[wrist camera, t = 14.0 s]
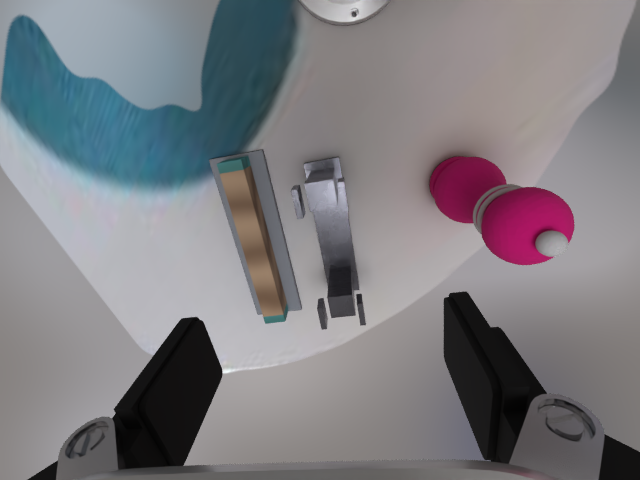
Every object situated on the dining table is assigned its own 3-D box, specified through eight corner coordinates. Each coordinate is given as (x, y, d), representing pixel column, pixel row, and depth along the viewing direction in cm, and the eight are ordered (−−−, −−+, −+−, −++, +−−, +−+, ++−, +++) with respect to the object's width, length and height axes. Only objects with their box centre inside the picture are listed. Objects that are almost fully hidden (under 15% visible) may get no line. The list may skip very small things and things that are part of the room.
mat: (210, 159, 39) (208, 160, 38) (263, 149, 38) (261, 150, 37) (258, 312, 48) (257, 314, 47) (301, 307, 47) (301, 309, 47)
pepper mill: (490, 198, 39) (624, 278, 20) (433, 217, 40) (510, 308, 22) (478, 142, 36) (620, 177, 18) (418, 165, 38) (492, 218, 19)
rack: (301, 163, 38) (288, 180, 29) (342, 156, 38) (342, 171, 29) (327, 290, 46) (323, 336, 36) (361, 286, 45) (366, 331, 36)
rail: (225, 159, 38) (216, 163, 35) (248, 155, 38) (240, 159, 35) (269, 311, 47) (265, 323, 44) (288, 308, 47) (285, 321, 44)
